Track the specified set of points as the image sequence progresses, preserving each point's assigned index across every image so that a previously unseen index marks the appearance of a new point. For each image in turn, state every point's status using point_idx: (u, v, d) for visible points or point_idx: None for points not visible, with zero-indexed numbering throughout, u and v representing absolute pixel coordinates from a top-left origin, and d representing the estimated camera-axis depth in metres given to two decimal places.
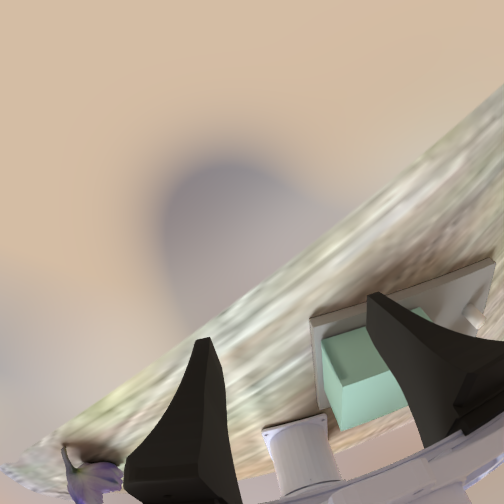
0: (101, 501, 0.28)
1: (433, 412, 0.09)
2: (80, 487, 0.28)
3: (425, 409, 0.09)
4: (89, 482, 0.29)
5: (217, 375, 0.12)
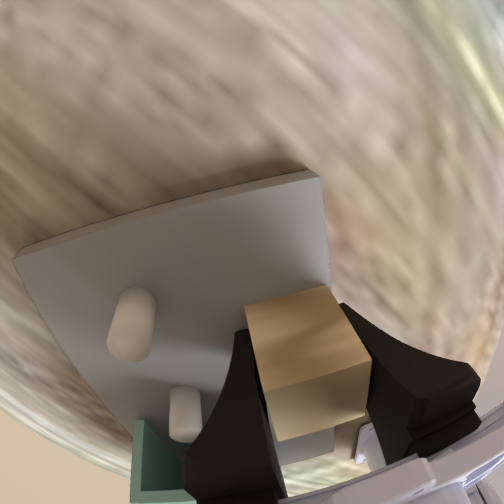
0: None
1: (391, 431, 0.09)
2: None
3: (384, 427, 0.09)
4: None
5: None
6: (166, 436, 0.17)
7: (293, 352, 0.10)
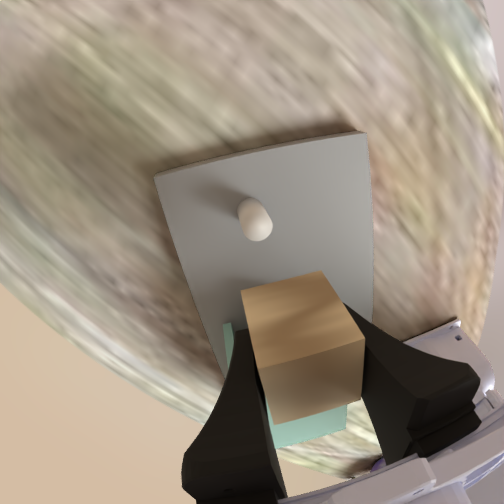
0: None
1: (391, 431, 0.09)
2: None
3: (384, 427, 0.09)
4: None
5: None
6: None
7: (288, 331, 0.11)
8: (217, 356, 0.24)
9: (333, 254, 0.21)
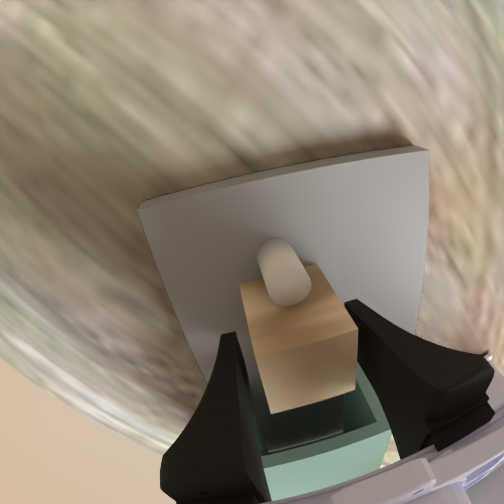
0: None
1: (407, 424, 0.09)
2: None
3: (400, 420, 0.09)
4: None
5: (243, 369, 0.12)
6: (256, 405, 0.18)
7: (284, 322, 0.11)
8: None
9: (375, 304, 0.16)
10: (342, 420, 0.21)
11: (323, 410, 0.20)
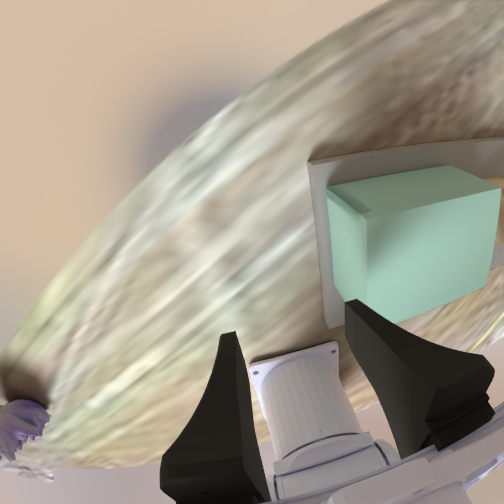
0: (13, 448, 0.19)
1: (407, 424, 0.09)
2: None
3: (400, 421, 0.09)
4: (1, 420, 0.20)
5: (243, 369, 0.12)
6: None
7: None
8: (411, 151, 0.19)
9: None
10: None
11: None
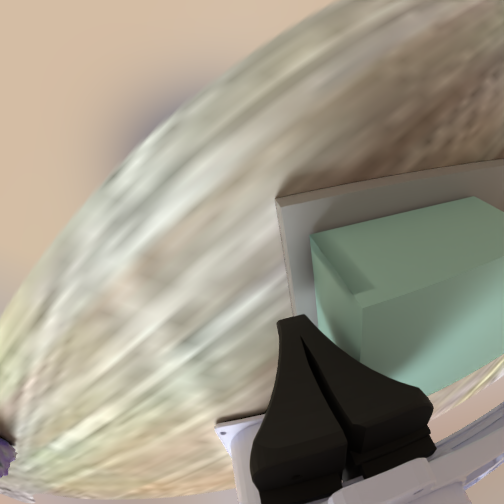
0: None
1: None
2: None
3: None
4: None
5: None
6: None
7: None
8: (420, 182, 0.14)
9: None
10: None
11: None
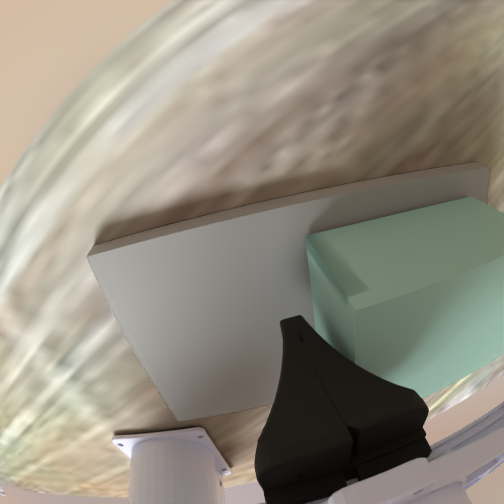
0: None
1: None
2: None
3: None
4: None
5: None
6: (268, 260, 0.14)
7: None
8: (242, 219, 0.13)
9: None
10: (193, 369, 0.17)
11: (228, 342, 0.16)
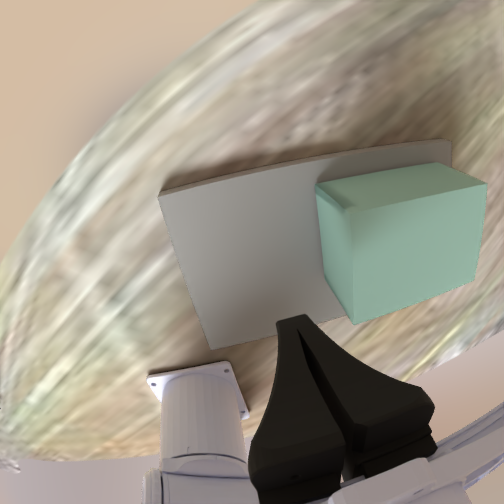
0: None
1: None
2: None
3: None
4: None
5: None
6: (289, 201, 0.20)
7: None
8: (272, 171, 0.19)
9: None
10: (229, 293, 0.23)
11: (258, 268, 0.22)
